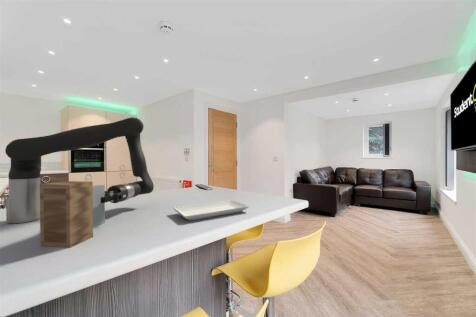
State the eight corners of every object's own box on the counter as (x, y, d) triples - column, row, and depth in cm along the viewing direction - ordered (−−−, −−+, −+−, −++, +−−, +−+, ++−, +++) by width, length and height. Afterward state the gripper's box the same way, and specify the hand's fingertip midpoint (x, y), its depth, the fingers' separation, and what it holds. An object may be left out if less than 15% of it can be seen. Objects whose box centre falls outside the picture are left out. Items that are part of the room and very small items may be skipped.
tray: (250, 212, 100) (250, 205, 100) (184, 224, 83) (184, 215, 83) (231, 206, 114) (231, 199, 114) (172, 214, 97) (172, 207, 97)
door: (77, 234, 72) (77, 189, 72) (69, 234, 72) (69, 189, 72) (104, 223, 84) (104, 185, 83) (98, 223, 84) (97, 184, 84)
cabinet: (70, 247, 61) (69, 184, 61) (35, 245, 63) (34, 184, 63) (103, 232, 74) (103, 180, 74) (73, 230, 75) (73, 179, 75)
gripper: (106, 184, 96) (74, 189, 80) (135, 184, 94) (108, 190, 78) (106, 200, 96) (74, 209, 80) (135, 201, 94) (108, 210, 78)
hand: (91, 200), depth 79 cm, fingers open, 8 cm apart
